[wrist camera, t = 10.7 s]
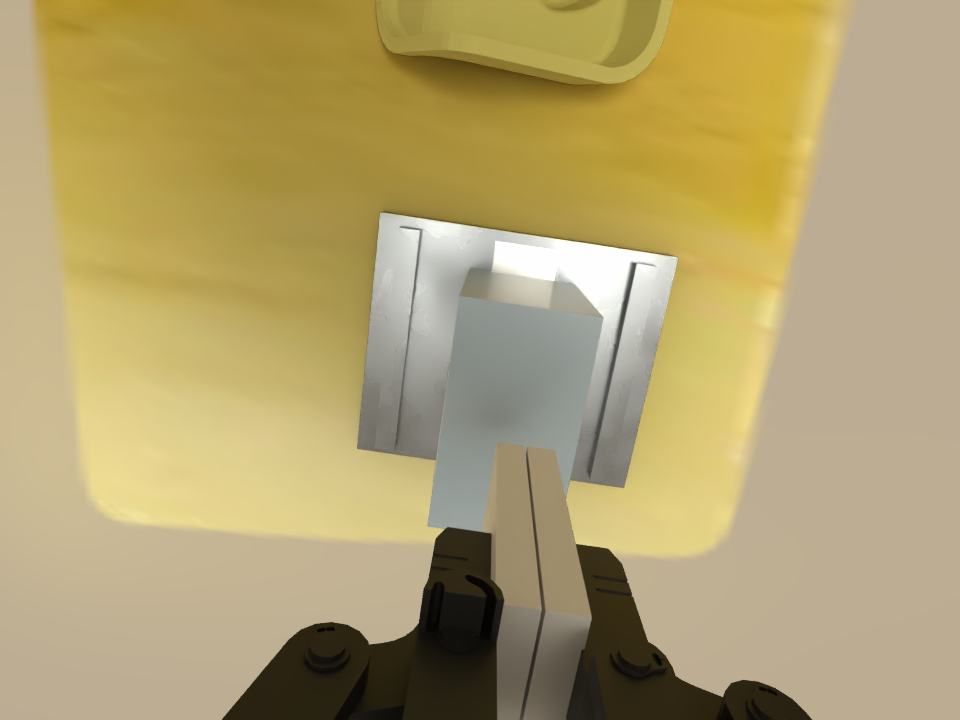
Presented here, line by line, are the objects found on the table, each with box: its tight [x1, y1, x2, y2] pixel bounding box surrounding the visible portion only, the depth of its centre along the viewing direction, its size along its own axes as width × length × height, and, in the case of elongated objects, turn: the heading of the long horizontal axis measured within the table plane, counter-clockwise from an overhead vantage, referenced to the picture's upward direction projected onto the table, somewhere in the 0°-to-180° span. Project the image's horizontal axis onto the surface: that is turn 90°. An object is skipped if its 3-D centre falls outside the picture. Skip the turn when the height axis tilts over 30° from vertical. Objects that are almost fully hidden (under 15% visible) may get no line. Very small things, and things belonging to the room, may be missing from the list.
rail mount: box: [357, 212, 678, 488], centre depth 29 cm, size 12×14×2 cm
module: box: [428, 268, 604, 532], centre depth 25 cm, size 9×5×8 cm, turn 172°
